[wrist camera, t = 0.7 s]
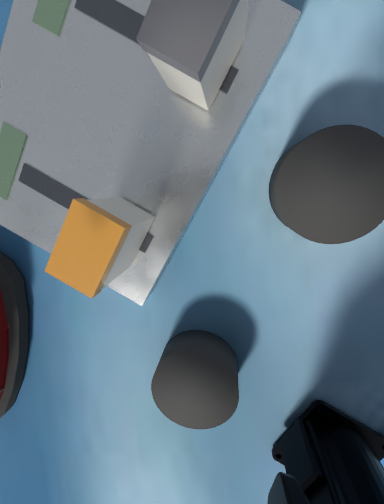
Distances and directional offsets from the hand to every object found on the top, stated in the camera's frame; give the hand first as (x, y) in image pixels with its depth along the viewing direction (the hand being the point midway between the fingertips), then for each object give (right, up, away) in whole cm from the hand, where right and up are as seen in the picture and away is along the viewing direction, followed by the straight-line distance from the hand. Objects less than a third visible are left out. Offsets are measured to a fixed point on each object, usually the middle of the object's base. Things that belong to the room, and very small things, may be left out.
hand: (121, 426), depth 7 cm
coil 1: (+3, -4, +13) cm, 14 cm away
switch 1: (-2, +6, +8) cm, 11 cm away
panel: (-3, +13, +10) cm, 17 cm away
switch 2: (+3, +15, +6) cm, 16 cm away
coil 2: (+10, +9, +9) cm, 16 cm away
